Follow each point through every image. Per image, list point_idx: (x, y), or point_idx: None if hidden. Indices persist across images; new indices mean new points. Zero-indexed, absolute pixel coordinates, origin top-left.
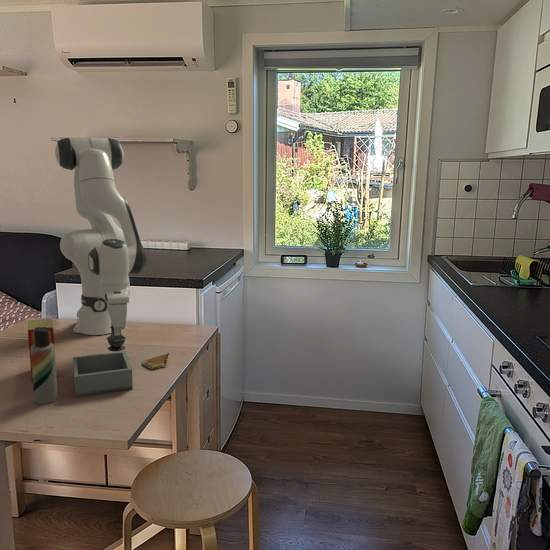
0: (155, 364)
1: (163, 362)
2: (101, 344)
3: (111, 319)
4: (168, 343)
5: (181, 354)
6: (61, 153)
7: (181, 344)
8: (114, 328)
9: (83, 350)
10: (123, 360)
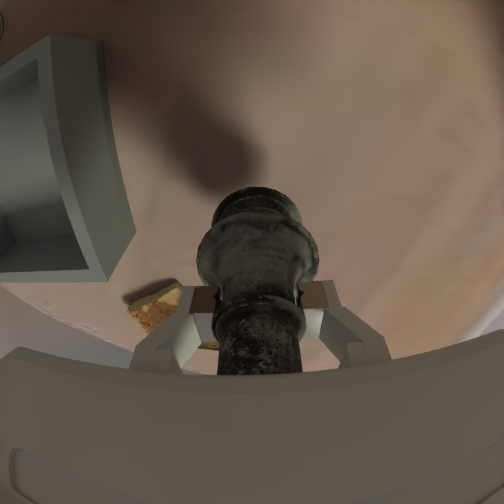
0: (141, 319)
1: None
2: (449, 161)
3: (79, 400)
4: None
5: None
6: None
7: (317, 369)
8: (153, 332)
9: (417, 79)
10: (70, 256)
